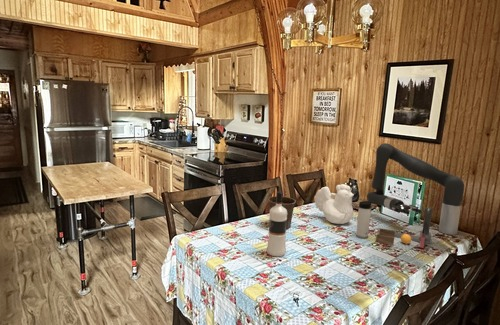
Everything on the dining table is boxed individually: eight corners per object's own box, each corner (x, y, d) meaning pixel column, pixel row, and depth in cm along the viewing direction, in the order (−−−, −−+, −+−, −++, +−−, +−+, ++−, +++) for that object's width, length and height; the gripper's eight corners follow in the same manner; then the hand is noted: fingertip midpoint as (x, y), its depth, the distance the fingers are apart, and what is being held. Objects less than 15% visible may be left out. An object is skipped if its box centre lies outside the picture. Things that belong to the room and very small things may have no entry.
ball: (400, 240, 172) (401, 232, 172) (410, 242, 170) (411, 233, 169) (400, 244, 168) (401, 235, 167) (410, 246, 166) (411, 237, 165)
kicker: (419, 237, 176) (423, 206, 173) (429, 239, 174) (433, 207, 171) (420, 247, 163) (424, 213, 161) (431, 249, 161) (435, 215, 158)
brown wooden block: (377, 234, 180) (378, 227, 179) (394, 237, 176) (395, 230, 176) (376, 242, 169) (376, 234, 169) (393, 245, 166) (394, 238, 165)
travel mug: (369, 239, 173) (373, 203, 170) (356, 237, 174) (360, 202, 171) (367, 234, 179) (371, 200, 176) (355, 233, 180) (358, 199, 177)
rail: (386, 232, 184) (386, 230, 183) (431, 240, 174) (431, 238, 174) (385, 235, 179) (385, 233, 179) (432, 244, 169) (432, 241, 169)
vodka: (282, 258, 146) (286, 195, 141) (263, 254, 150) (266, 193, 145) (288, 250, 155) (291, 191, 150) (270, 247, 158) (272, 188, 153)
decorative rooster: (357, 223, 197) (360, 184, 193) (342, 229, 187) (345, 187, 183) (324, 213, 216) (327, 177, 212) (309, 217, 206) (311, 179, 202)
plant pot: (298, 225, 190) (300, 199, 188) (287, 233, 177) (288, 205, 174) (274, 219, 199) (276, 194, 196) (261, 227, 185) (263, 200, 183)
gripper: (384, 199, 191) (405, 206, 176) (403, 197, 195) (425, 205, 180) (383, 211, 192) (404, 219, 177) (402, 209, 197) (424, 218, 182)
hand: (415, 212), depth 179 cm, fingers open, 8 cm apart
